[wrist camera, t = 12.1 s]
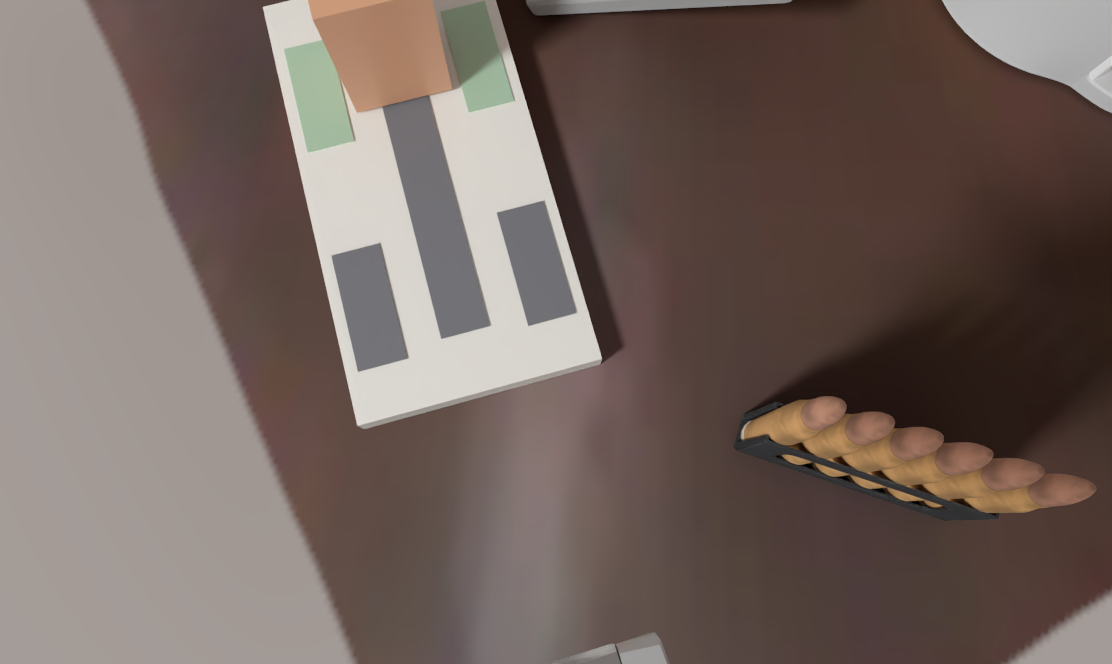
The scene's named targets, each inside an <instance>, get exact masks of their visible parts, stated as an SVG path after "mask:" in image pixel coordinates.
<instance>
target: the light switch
mask: <svg viewBox="0 0 1112 664" xmlns="http://www.w3.org/2000/svg"><path fill="white" fill-rule="evenodd" d="M790 1H792V0H526V4H527V6H528V7H529V9H530V10H531V11H532V13H533V14H534V15H536V16H538V15H558V14H578V13H598V12H618V11H638V10H658V9H678V8H697V7H717V6H737V5H757V4H777V3H788V2H790Z"/></svg>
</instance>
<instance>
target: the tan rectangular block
mask: <svg viewBox="0 0 1112 664" xmlns="http://www.w3.org/2000/svg"><path fill="white" fill-rule="evenodd" d="M308 3H309V7H310V11H311V15H312V19H313V22H314V24H315V26H316V28H317V30H318V32H319V34H320V36H321V38H322V40H323V43H324V45H325V47H326V49H327V51H328V53H329V55H330V57H331V59H332V61H333V64H334V66H335V68H336V70H337V72H338V74H339V76H340V78H341V80H342V82H343V85H344V87H345V89H346V91H347V93H348V95H349V97H350V99H351V101H352V103H353V106H354V108H355V110H356V112H357V113H358V112H362V111H366V110H370V109H375V108H379V107H383V106H387V105H391V104H395V103H399V102H403V101H407V100H411V99H415V98H419V97H423V96H427V95H431V94H435V93H439V92H443V91H447V90H451V89H452V86H451V81H450V77H449V72H448V68H447V64H446V59H445V55H444V50H443V46H442V41H441V37H440V33H439V28H438V24H437V19H436V15H435V10H434V6H433V2H432V0H308Z"/></svg>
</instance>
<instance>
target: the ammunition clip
mask: <svg viewBox="0 0 1112 664" xmlns="http://www.w3.org/2000/svg"><path fill="white" fill-rule="evenodd" d="M846 408H847V406H846V403H845V402H844V401H843V400H842V399H840V398H837V397H833V396H823V397H818V398H815V399H810V400H797V401H794V402H792V403H789V404H787V405H786V404H783V403H780V402H773V403H771V404H768V405H766V406H763V407H761V408H758V409H756V410H753V411H751V412H748V413H746V414H743V417H742V420H741V424H740V427H739V431H738V434H737V438H736V441H735V445H734V448H735V449H736V450H737V451H740V452H743V453H746V454H749V455H752V456H755V457H758V458H761V459H764V460H767V461H770V462H773V463H776V464H778V465H781V466H784V467H787V468H790V469H793V470H796V471H799V472H802V473H805V474H808V475H811V476H814V477H817V478H820V479H823V480H826V481H829V482H832V483H835V484H838V485H841V486H844V487H847V488H850V489H853V490H856V491H859V492H862V493H865V494H868V495H871V496H873V497H876V498H879V499H882V500H885V501H888V502H891V503H894V504H897V505H900V506H903V507H906V508H909V509H912V510H915V511H918V512H921V513H924V514H927V515H930V516H933V517H936V518H939V519H942V520H990V519H998V517H999V513H1021V512H1029V511H1032V510H1035V509H1037V508H1047V507H1051V506H1064V505H1069V504H1073V503H1077V502H1079V501H1082V500H1084V499H1086V498H1088V497H1090V496H1091V495H1092V494H1093V493H1094V492H1095V491H1096V486H1095V485H1094V484H1093V483H1091V482H1090V481H1088V480H1086V479H1082V478H1079V477H1076V476H1072V475H1066V474H1044V473H1045V470H1044V469H1043V467H1041V466H1040V465H1039V464H1037V463H1034V462H1031V461H1028V460H1024V459H1019V458H993V452H992V451H991V450H990V449H989V448H987V447H986V446H982V445H979V444H976V443H970V442H955V443H943V441H944V436H943V435H942V434H941V433H940V432H939V431H937V430H934V429H931V428H927V427H908V428H898V429H895V428H894V426H895V420H894V418H893V417H892V416H890V415H889V414H885V413H882V412H862V413H856V414H845V412H846Z"/></svg>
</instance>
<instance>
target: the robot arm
mask: <svg viewBox="0 0 1112 664" xmlns="http://www.w3.org/2000/svg"><path fill="white" fill-rule="evenodd" d="M942 1H943V3H944V5H945V6H946V8H947V10H948V11H949V13H950V14H951V16H952V17H953V18H954V20H955V21H956V22H957V24H958V25H959V26H960V27H961V28H962V29H963V30H964V32H965V33H966V34H967V35H968V36H969V37H970V38H972V39H973V40H974V41H975V42H976V43H977V44H979V45H980V46H981V47H982V48H984V49H985V50H986V51H988V52H989V53H991V54H992V55H994V56H995V57H997V58H999V59H1001V60H1002V61H1004V62H1006V63H1008V64H1010V65H1012V66H1014V67H1017V68H1019V69H1021V70H1024V71H1027V72H1029V73H1032V74H1036V75H1039V76H1043V77H1046V78H1050V79H1053V80H1056V81H1059V82H1062V83H1064V84H1066V85H1068V86H1070V87H1072V88H1073V89H1074V90H1076V91H1077V92H1078V93H1080V94H1081V95H1083V96H1084V97H1085V98H1087V99H1088V100H1089V101H1091V102H1092V103H1094V104H1095V105H1097V106H1099V107H1100V108H1102V109H1104V110H1106V111H1108V112H1111V113H1112V0H942ZM549 664H669V661H668V658H667V656H666V653H665V650H664V648H663V645H662V642H661V640H660V638H659V637H658V636H657V634H656V633H655V632H651V633H648V634H645V635H642V636H639V637H636V638H633V639H630V640H627V641H624V642H621V643H618V644H616V645H615V646H614V643H612V644H609V645H606V646H603V647H600V648H596V649H593V650H590V651H587V652H584V653H581V654H578V655H574V656H571V657H568V658H565V659H562V660H559V661H556V662H552V663H549Z"/></svg>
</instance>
